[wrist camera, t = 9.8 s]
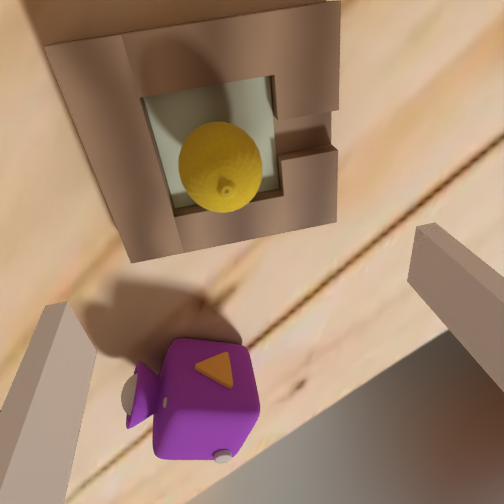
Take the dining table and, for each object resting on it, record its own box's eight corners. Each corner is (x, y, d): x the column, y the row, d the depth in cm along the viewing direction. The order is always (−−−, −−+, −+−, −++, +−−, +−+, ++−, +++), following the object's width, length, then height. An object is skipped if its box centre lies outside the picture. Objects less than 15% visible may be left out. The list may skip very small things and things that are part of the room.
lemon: (226, 93, 25) (244, 124, 19) (263, 158, 28) (289, 203, 22) (162, 136, 26) (157, 179, 19) (204, 194, 29) (213, 248, 22)
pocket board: (134, 247, 32) (131, 263, 30) (55, 43, 23) (43, 46, 21) (326, 209, 33) (336, 222, 31) (326, 1, 24) (340, 0, 22)
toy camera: (125, 330, 38) (111, 419, 29) (251, 328, 41) (270, 408, 33) (128, 393, 43) (117, 482, 35) (238, 387, 46) (251, 467, 38)
